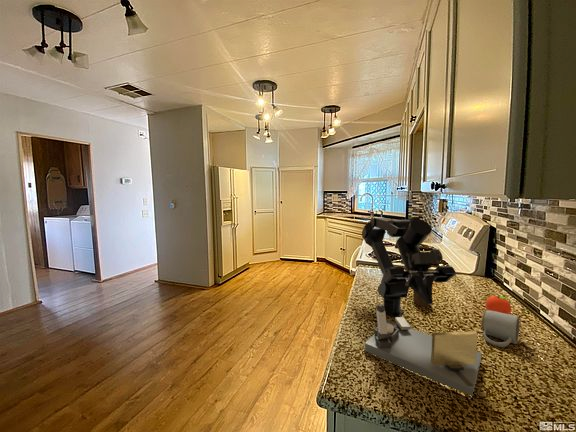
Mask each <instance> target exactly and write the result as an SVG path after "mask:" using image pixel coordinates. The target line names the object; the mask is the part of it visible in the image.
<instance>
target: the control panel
mask: <svg viewBox="0 0 576 432" xmlns="http://www.w3.org/2000/svg"><path fill="white" fill-rule="evenodd" d="M386 323H388V324H391V325H393V327H394V333H393V334H392V335H389V336H390V339H389V340H379V339H378V336H377V333H379V332H378V326H377V327H376V328H375V329H374V333H373V334H372V335H371V337H369V338H368V340H367V341H366V342H365V343H364V352H365V351H367V352H369V353H371V354H374V355H376V356H378V357H381V358H383V359H385V360H387V361H390V362H392V363H394V364H397V365H399V366H401V367H404V368H406V369H408V370H410V371H413V372H415V373H418V374H420V375H423V376H426V377H427V378H430V379H432V380H435V381H437V382H439V383H442V384H444V385H447V386H449V387H452V388H454V389H456V390H459V391H461V392H463V393H466V394H468V395H471V396H473V397H474V394H473V392H474V393H475V390H474V388H475V389H476V386H475V384H477V381H476V379H477V380H478V377H477V375H478V376H479V372H480V368H481V367H480V366H481V364H480V363H482V352H481V351H477V350H476V361H475V364H467V365H461V366H463V367H464V370H456V371H451V370H450V369H449V368H448V367H447V366H446V365H440V366H433V365H432V363H431V351H432V335H431V334H428V333H425V332H422V331H419V330H416V329H413V328H410V329H409V330H402V329H401V328H400V327H399V325H398V324H397V322H394V321H390V320H386ZM367 352H366V353H367ZM369 353H368V354H369ZM371 354H370V355H371ZM374 355H373V356H374ZM376 356H375V357H376ZM378 357H377V358H378ZM387 361H386V362H387ZM479 367H480V368H479ZM478 371H479V372H478Z"/></svg>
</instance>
